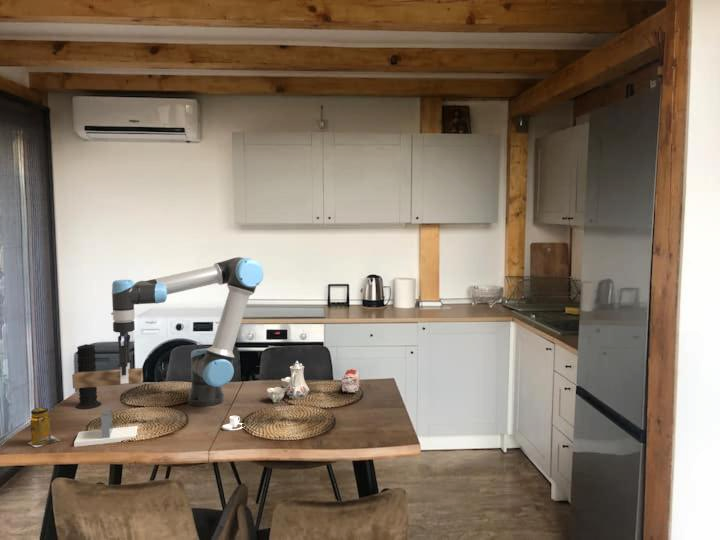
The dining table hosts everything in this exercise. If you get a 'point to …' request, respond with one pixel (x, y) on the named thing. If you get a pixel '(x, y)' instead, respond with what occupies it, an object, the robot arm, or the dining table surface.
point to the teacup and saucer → (232, 423)
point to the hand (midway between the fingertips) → (125, 381)
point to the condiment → (40, 428)
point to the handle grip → (86, 365)
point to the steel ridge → (106, 423)
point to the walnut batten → (105, 378)
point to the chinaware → (290, 385)
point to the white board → (96, 438)
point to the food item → (351, 381)
